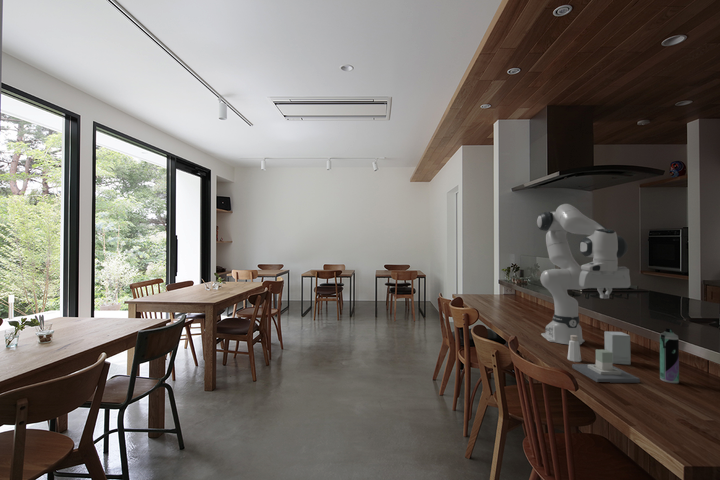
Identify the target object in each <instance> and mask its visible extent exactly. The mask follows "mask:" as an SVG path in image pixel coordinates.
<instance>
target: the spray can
mask: <svg viewBox="0 0 720 480" xmlns="http://www.w3.org/2000/svg"><path fill="white" fill-rule="evenodd" d="M679 342H680V341H679V335H678V334H676V333H674V331H673V329H672V328H665V330H664V331H663V332H660V333H659V380H660V381H663V382H665V383H671V384H679V383H680V356H679V353H680V352H679V351H680V350H679V347H680V344H679Z"/></svg>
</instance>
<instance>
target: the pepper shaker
mask: <svg viewBox="0 0 720 480" xmlns="http://www.w3.org/2000/svg"><path fill="white" fill-rule="evenodd" d="M580 346H581V345H580V344H579V342H578V336H576V335H571V340H570V341H569V345H568V350H567V351H568V352H567V360H568V361H570V362H577V363H579V362H582V356H581V355H582V353H581V347H580Z"/></svg>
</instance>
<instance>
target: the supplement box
mask: <svg viewBox="0 0 720 480" xmlns="http://www.w3.org/2000/svg"><path fill="white" fill-rule="evenodd" d="M604 350H608V351H610V352H612V364H617V365H629V366H630V365H631V362H632V361H631V355H632V354H631V335H629V334H627V333H625V332H623V331H604Z"/></svg>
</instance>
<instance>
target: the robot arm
mask: <svg viewBox="0 0 720 480" xmlns="http://www.w3.org/2000/svg"><path fill="white" fill-rule="evenodd" d="M536 225H537V228H538V230H540V231H543V232H546V234H545V244H546V248H547V249H546V251H547V254H548V258H549V261H550V262H551V264H553V265H554V266H557V267H558V268H552V269H551V268H550V269H546V270H543V271H542V272H541V274H540V277H539V279H540V283H541V285H542V287H544V288H545V289H546V290H547V291H548V292H549V293H550V294H551V296H552V299H553V303H554V304H553V305H554V313H553V314H552V320H551V321H550V322H549V323H548V324H546V326H545V328H544V330H545V332H542V333H541V334H540V335H541V336H542V337H543V338H544V339H545V340H547V341H548V342H551V343H557V344H562V345H568V346H569V341H570V340H571V335H576V336H578V342H579V345H582V344H583V343H584V342H585V339H583V331H582V329H583V328H582V326H581V325H580V316H579V301H578V300H577V299H576V298H575V297H572V296H571V295H569V294H568V290H579V291H580V290H584V289H597V292H598V293H599V298H600V299H610V295H611V293H612V292H613V289H629V288H630V287H631V284H632V283H631V277H630V269H629V268H628V267H626V266H624V265H623V266H618V265H619V263H618V261H619V260H618V259H621V258H622V257H624V255H626V254H627V252H628V250H629V245H628V242H627V241H626V239H625V238H624V237H622V236H621V235H618V234H617V232H616V230H614V229H611V228H607V227H606V226H604V225H603V224H601V223H599V222H597V221H596V220H594V219H591V218H589V217H588V216H586V214H583V213H582V212H581V211H580V210H579V209H578V208H577V207H575V206H574V205H572V204H570V203H563V204H560V205H559V206H558V207H557V208H556V209H555V211H545V212H541V213H539V214H538V216H537V220H536ZM568 233H569V234H575V235H585V237H583V238H582V239H581V240H580V241H579V245H578V246H579V252H580V253H581V255H583V256H584V257H587V258H592V261H591V262H588V263H585V264H582V265H580V264H579V263H578V261H576V260H575V257H574V256H573V254H572V251H571V247H570V244H569V240H568V238H567V234H568ZM604 290H606V291H605V292H603V291H604Z"/></svg>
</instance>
